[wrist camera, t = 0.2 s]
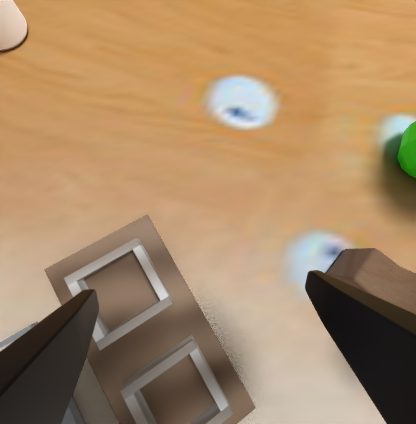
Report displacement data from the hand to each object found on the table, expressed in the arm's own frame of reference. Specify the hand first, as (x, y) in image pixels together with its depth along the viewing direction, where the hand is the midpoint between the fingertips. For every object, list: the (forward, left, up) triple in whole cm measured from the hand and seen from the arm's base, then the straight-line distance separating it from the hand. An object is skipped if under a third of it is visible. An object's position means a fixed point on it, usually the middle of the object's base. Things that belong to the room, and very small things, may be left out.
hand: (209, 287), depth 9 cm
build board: (-4, +7, -15) cm, 17 cm away
